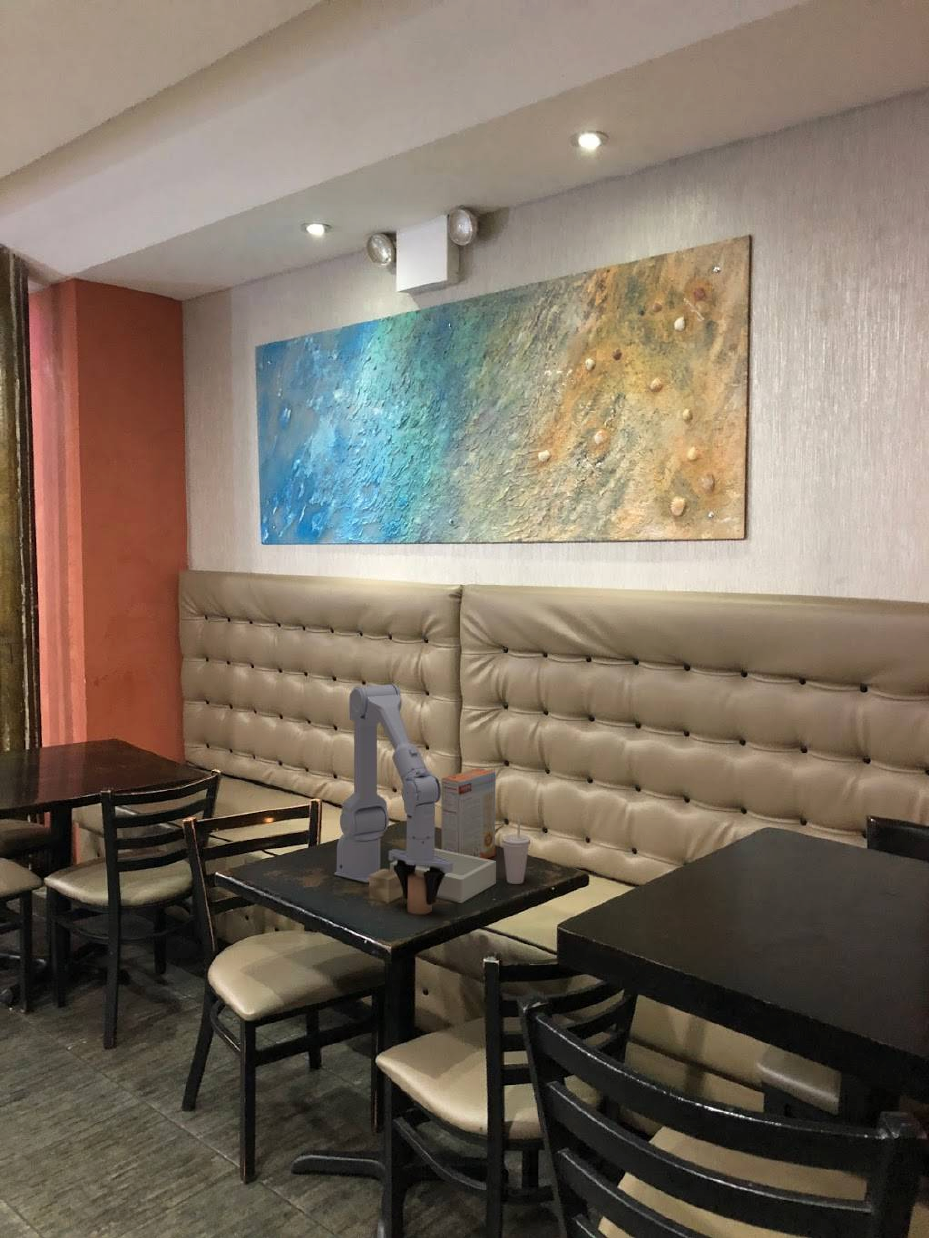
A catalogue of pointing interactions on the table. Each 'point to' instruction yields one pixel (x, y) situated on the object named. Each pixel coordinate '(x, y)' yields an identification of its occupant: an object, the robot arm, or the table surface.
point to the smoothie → (515, 856)
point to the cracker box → (469, 813)
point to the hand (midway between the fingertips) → (419, 900)
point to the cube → (384, 886)
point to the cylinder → (417, 894)
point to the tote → (462, 875)
